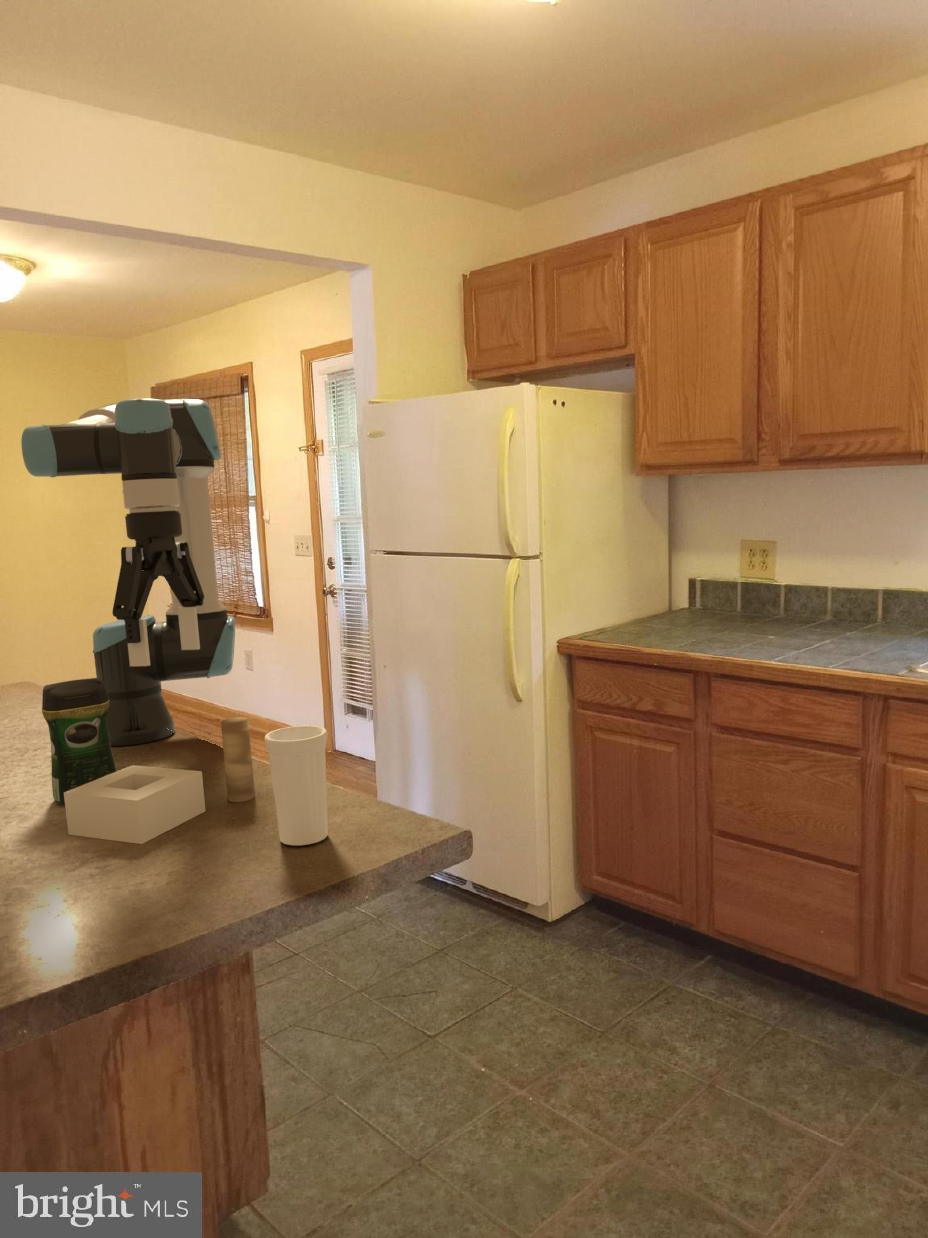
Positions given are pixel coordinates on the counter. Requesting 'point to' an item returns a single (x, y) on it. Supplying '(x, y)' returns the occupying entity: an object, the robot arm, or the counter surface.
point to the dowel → (238, 759)
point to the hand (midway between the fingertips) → (166, 657)
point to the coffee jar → (77, 733)
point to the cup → (299, 782)
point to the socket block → (134, 803)
